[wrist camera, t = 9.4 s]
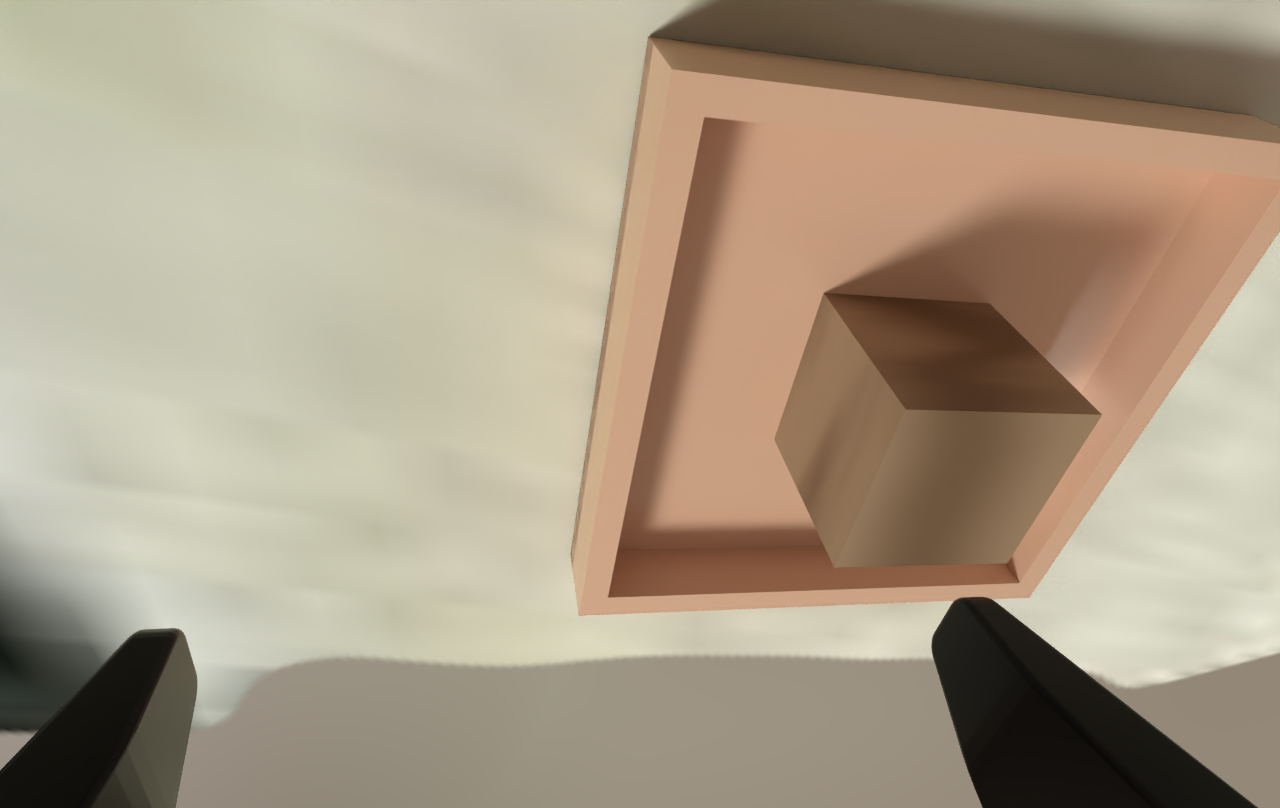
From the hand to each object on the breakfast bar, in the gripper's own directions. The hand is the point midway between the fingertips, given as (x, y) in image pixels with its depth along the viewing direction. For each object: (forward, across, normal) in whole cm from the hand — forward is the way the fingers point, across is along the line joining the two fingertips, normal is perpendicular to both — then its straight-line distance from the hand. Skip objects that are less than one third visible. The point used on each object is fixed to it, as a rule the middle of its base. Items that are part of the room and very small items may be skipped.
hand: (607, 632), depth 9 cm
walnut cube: (+11, -10, +4) cm, 16 cm away
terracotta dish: (+12, -10, +4) cm, 16 cm away
